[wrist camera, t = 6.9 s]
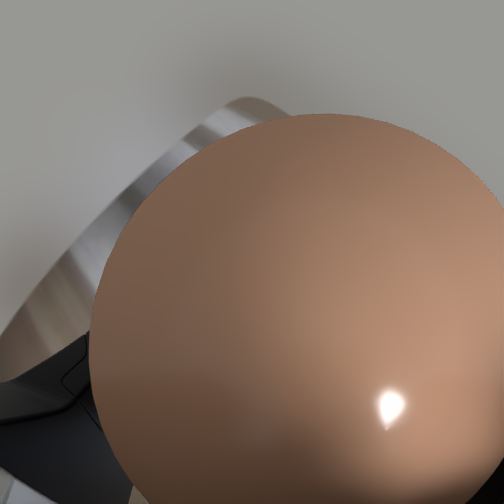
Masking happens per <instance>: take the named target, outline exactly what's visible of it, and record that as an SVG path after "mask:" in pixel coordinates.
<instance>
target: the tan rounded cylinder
mask: <svg viewBox="0 0 504 504" xmlns="http://www.w3.org/2000/svg"><path fill="white" fill-rule="evenodd" d="M89 369H90V377H91V385H92V393H93V398H94V401H95V405H96V409H97V413H98V416H99V420H100V423H101V426H102V429H103V431H104V433H105V436H106V438H107V440H108V442H109V445H110V447H111V449H112V451H113V453H114V455H115V457H116V459H117V460H118V462H119V464H120V465H121V467H122V468H123V470H124V471H125V473H126V475H127V476H128V478H129V479H130V481H131V482H132V483H133V485H134V486H135V487H136V488H137V489H138V490H139V492H140V493H141V494H142V495H143V496H144V497H145V498H146V500H147V501H148V502H149V503H150V504H465V503H466V502H467V501H469V500H470V499H471V498H472V497H473V496H474V495H475V494H476V493H477V491H478V490H479V489H480V488H481V487H482V486H483V485H484V483H485V482H486V481H487V480H488V479H489V477H490V476H491V475H492V474H493V472H494V471H495V470H496V468H497V467H498V465H499V464H500V462H501V461H502V459H503V458H504V208H503V207H502V206H501V204H500V203H499V201H498V200H497V198H496V197H495V196H494V195H493V193H492V192H491V191H490V190H489V189H488V188H487V187H486V185H485V184H484V183H483V182H482V181H481V180H480V179H479V177H478V176H476V175H475V174H474V173H473V172H472V171H471V170H470V169H469V168H468V167H466V166H465V165H464V164H463V163H462V162H461V161H460V160H458V159H457V158H456V157H454V156H453V155H451V154H450V153H448V152H447V151H446V150H444V149H443V148H441V147H440V146H438V145H437V144H435V143H433V142H431V141H429V140H427V139H425V138H423V137H422V136H419V135H418V134H416V133H414V132H411V131H409V130H406V129H403V128H401V127H398V126H395V125H392V124H390V123H387V122H383V121H378V120H374V119H370V118H364V117H360V116H351V115H341V114H310V115H298V116H291V117H285V118H280V119H274V120H270V121H267V122H263V123H260V124H257V125H254V126H251V127H247V128H244V129H242V130H239V131H237V132H235V133H233V134H231V135H229V136H226V137H224V138H222V139H220V140H218V141H216V142H214V143H212V144H211V145H209V146H207V147H206V148H204V149H203V150H201V151H200V152H198V153H196V154H195V155H193V156H192V157H190V158H189V159H187V160H186V161H185V162H184V163H182V164H181V165H180V166H179V167H178V168H176V169H175V170H174V171H173V172H172V173H170V174H169V175H168V176H167V177H166V178H165V179H163V180H162V181H161V182H160V183H159V185H158V186H157V187H156V188H155V189H154V190H153V191H152V192H151V193H150V194H149V196H148V197H147V198H146V199H145V200H144V201H143V202H142V203H141V205H140V206H139V207H138V209H137V210H136V212H135V213H134V215H133V216H132V217H131V219H130V220H129V222H128V223H127V225H126V226H125V228H124V229H123V231H122V232H121V234H120V236H119V238H118V240H117V242H116V244H115V246H114V248H113V250H112V252H111V254H110V256H109V258H108V260H107V262H106V265H105V268H104V271H103V274H102V277H101V280H100V283H99V286H98V289H97V292H96V296H95V301H94V306H93V312H92V318H91V324H90V334H89Z"/></svg>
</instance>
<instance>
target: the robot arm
mask: <svg viewBox="0 0 504 504" xmlns="http://www.w3.org/2000/svg"><path fill="white" fill-rule="evenodd" d="M89 334H90V330H89V331H88V332H86V335H85V334H84V335H82V336H81V337H79V338H78V339H77V340H75V341H74V342H72V343H71V344H70V345H68V346H67V347H65V348H64V349H62V350H61V351H59V352H58V353H56V354H54V355H53V356H51V357H50V358H48V359H46V360H45V361H43V362H41V363H40V364H38V365H36V366H35V367H33V368H31V369H30V370H28V371H26V372H25V373H23V374H22V375H20V376H18V377H16V378H14V379H12V380H10V381H6V382H2V383H0V504H128V502H129V498H130V495H131V491H132V487H133V483H132V482H131V481H130V479H129V478H128V476H127V475H126V473H125V471H124V470H123V468H122V467H121V465H120V464H119V462H118V460H117V459H116V457H115V455H114V453H113V451H112V449H111V447H110V445H109V442H108V440H107V438H106V436H105V433H104V431H103V429H102V426H101V423H100V420H99V416H98V413H97V409H96V405H95V401H94V398H93V393H92V385H91V377H90V369H89ZM465 504H504V458H503V459H502V461H501V462H500V464H499V465H498V467H497V468H496V470H495V471H494V472H493V474H492V475H491V476H490V477H489V479H488V480H487V481H486V482H485V483H484V485H483V486H482V487H481V488H480V489H479V490H478V491H477V493H476V494H475V495H474V496H473V497H472V498H471V499H470V500H469V501H467V502H466V503H465Z"/></svg>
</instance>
